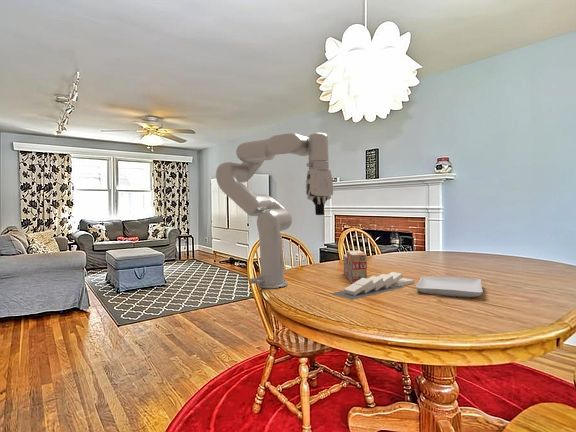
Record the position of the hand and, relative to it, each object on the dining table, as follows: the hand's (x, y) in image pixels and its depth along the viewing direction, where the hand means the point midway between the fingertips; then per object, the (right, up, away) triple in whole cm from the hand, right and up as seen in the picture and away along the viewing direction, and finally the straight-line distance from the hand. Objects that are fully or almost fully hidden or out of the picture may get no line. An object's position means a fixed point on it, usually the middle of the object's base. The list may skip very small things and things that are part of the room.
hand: (319, 214), depth 132 cm
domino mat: (+18, -29, -2) cm, 34 cm away
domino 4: (+24, -27, +2) cm, 36 cm away
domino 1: (+10, -28, -7) cm, 31 cm away
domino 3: (+19, -28, -1) cm, 33 cm away
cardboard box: (+17, -28, +22) cm, 40 cm away
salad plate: (+47, -29, -4) cm, 55 cm away
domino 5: (+29, -27, +4) cm, 40 cm away
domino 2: (+15, -28, -4) cm, 32 cm away
